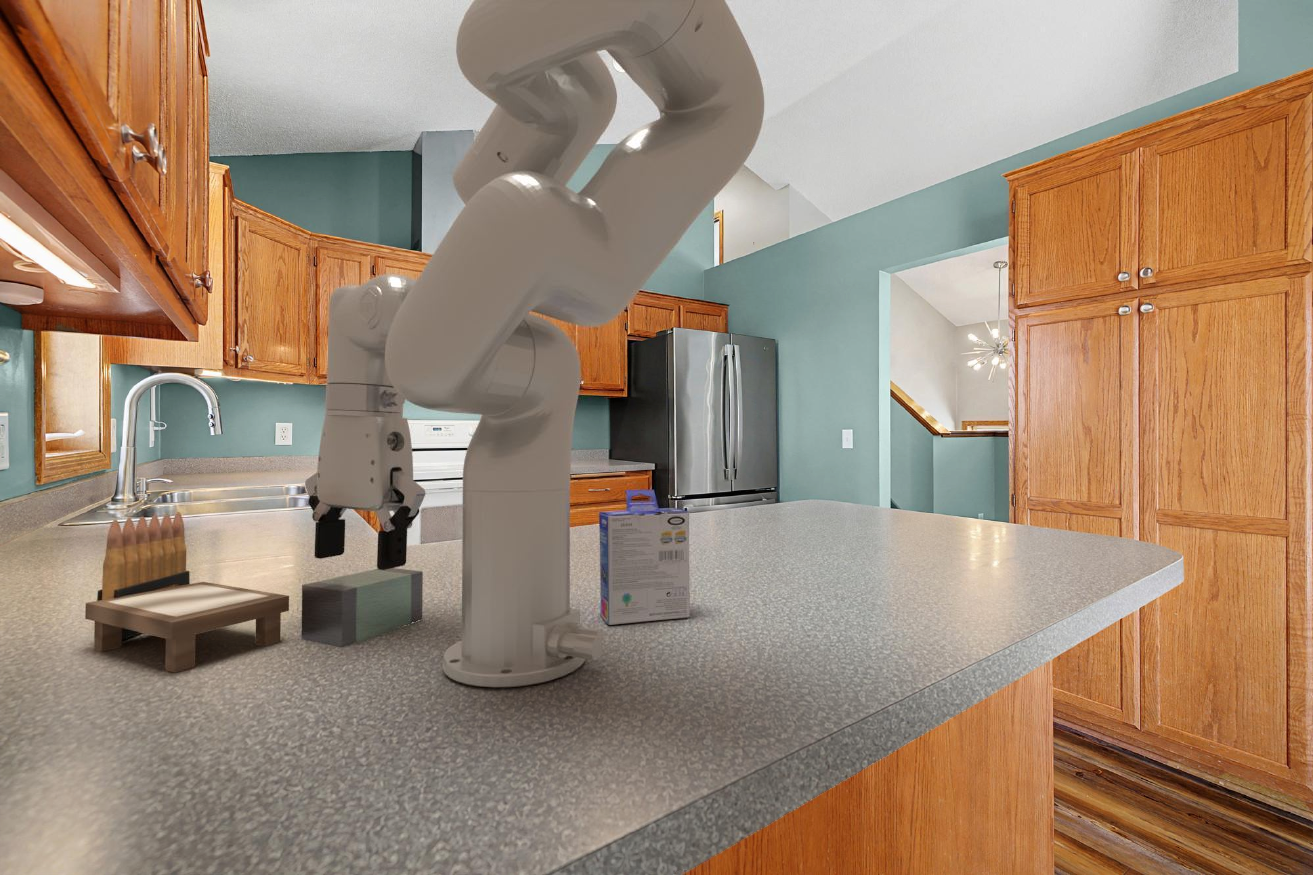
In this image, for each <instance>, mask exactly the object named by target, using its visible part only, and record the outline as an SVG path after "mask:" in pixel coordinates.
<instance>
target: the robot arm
mask: <svg viewBox="0 0 1313 875" xmlns="http://www.w3.org/2000/svg"><path fill="white" fill-rule="evenodd" d="M455 45H456V50H455V54H456V59H457V64H458V66H459V69H460V71H461V73H462V75H463V76H464V78H465V79H466V80H467V82H468V83H469V84H471V85H472V86H473V88H475V89H476V90H477V91H479V92H480V93H481V94H483V95H484V96H486V97H487V98H488V99H490V100H491V101H493V102H494V103H495V104H496V105H495V107H494V108H493V110H492V111H491V113H490V115H489V117H488V118H487V120H486V121H485V123H484V125H483V126H482V128H481V129H480V131H479V132H478V134H477V136H476V138H474V140H473V142H472V143H471V145H470V146H469V147H468V150H467V151H466V153H465V154H464V156H463V157H462V159H460V162H459V163H458V165H456V168H455V169H454V172H453V176H452V181H453V187H454V188H455V191H456V193H457V195H458V196H459V198H460V199H461V201H462V202H463V204H464V207H463V208H462V210H461V211H460V212H459V213H458V216H457V217H456V218H455V219H454V222H453V223H452V224H451V226H450V227H449V229H448V231H447V232H446V234H445V236H444V237H443V239H442V240H441V241H440V243H439V244H438V246H437V248H436V249H435V251H434V253H432V255H431V257H430V258H429V260H428V262H427V263H426V265H425V267H423V270H422V272H421V273H420V275H419V276H418V277H417V279H415V278H412V277H410V276H405V275H402V274H397V273H384V274H381V275H377V276H375V277H373V278H371V279H370V280H367V281H366V282H364V283H362V284H361V285H359V284H357V285H356V284H355V285H354V284H352V285H343V286H339V287H337V288H335V289H334V290H333V292H332V293H331V295H330V296H329V306H328V334H327V335H328V336H327V361H326V362H327V365H326V385H325V387H326V389H325V409H324V410H325V412H324V414H325V415H324V416H325V417H324V421H323V426H322V431H321V435H320V441H319V450H318V458H317V468H316V469H317V470H316V473H314V474H313V475H312V476H310V477H308V478H307V479H306V480H305V483H304V485H305V488H306V492H307V495H308V505H309V506H310V509H311V510H312V514H311V519H312V520H313V522H315V527H314V528H315V529H314V530H315V532H314V558H316V559H319V560H320V559H321V560H322V559H327V558H331V557H338V556H342V555H344V553H345V542H346V519H343V518H342V516H343V514H344V513H345V512H346V510H347V509H348V510H357V511H365V512H366V511H367V512H374V513H375V515H376V517H377V519H378V521H379V523H380V524H381V527H382V529H383V530H379V531H378V533H377V551H376V552H377V553H376V554H377V555H376V556H377V557H376V558H377V559H376V567H377V568H376V569H380V570H386V569H391V568H399V567H404V566H405V565H406V563H407V551H408V550H407V548H408V546H407V545H408V541H407V540H408V529H411V528H412V527H413V522H414V520H415V519H416V518H417V517H418V515H419V513H420V508H421V506H422V504H423V501H424V498H425V496H426V489H425V488H423V487H422V486H421V485H420V484H418V483H417V482H416V481H415V480H414V464H413V463H414V461H413V458H414V457H413V447H412V446H413V445H412V438H411V431H410V430H411V429H410V426H409V421H408V418H407V417H406V418H405V417H404V404H405V402H406V401H408V402H409V403H411V404H413V405H415V406H418V407H419V408H423V409H427V410H432V411H437V412H446V413H454V414H468V415H469V414H470V415H480V419H479V422H478V424H477V426H476V428H475V430H474V432H473V434H472V437H471V439H470V441H469V444H468V446H467V450H466V452H465V457H464V461H463V467H462V468H463V470H462V505H461V506H462V507H461V508H462V512H461V513H462V514H461V515H462V518H461V519H462V522H461V523H462V529H461V531H462V533H461V534H462V535H461V537H462V538H461V539H462V540H461V542H462V543H461V544H462V545H461V547H462V548H461V569H462V570H461V640H459V641H457V642H456V643H454V644H452V645H451V646H450V647H448V648H447V649H446V650H445V651H444V653H443V656H442V667H441V668H442V670H443V673H444V675H446V676H447V677H448V678H449V679H451V680H453V681H455V682H457V683H462V684H465V685H469V686H473V687H474V686H475V687H480V688H481V687H484V688H512V687H513V688H514V687H523V686H532V685H535V684H536V685H537V684H541V683H546V682H549V681H553V680H555V679H558V678H559V679H560V678H562V677H564V676H566V675H568V674H570V673H573V672H574V671H576V670H578V669H579V668H580V667H581V666H582V665H583V664H584V663H585V661H586V660H591V661H597V660H599V659H600V658H601V656H602V654H603V651H604V641H605V631H604V629H602V628H595V627H583V625H582V623H581V609H579V608H573V607H572V608H571V604H570V603H571V595H570V594H571V588H570V587H571V585H570V584H571V573H570V572H571V560H570V559H571V549H570V548H571V519H570V518H571V506H570V505H571V462H572V457H571V456H572V453H571V452H572V440H573V439H572V438H573V437H572V436H573V429H574V422H575V415H576V414H575V413H576V409H577V404H578V399H579V392H580V388H581V387H580V386H581V381H582V380H581V379H582V372H581V371H582V370H581V369H582V368H581V366H582V365H581V360H580V355H579V353H578V349H577V348H576V346H575V344H574V342H573V341H572V339H571V338H570V336H569V335H568V334H567V333H566V332H565V331H564V330H563V329H562V328H560V327H559V326H558V325H556V324H554V323H553V322H551V321H550V320H547V319H545V318H544V317H541V316H538V315H536V314H539V315H542V316H545V317H548V318H552V319H554V320H557V321H560V322H564V323H568V324H572V325H575V326H580V327H586V328H595V327H596V328H597V327H601V326H605V325H608V323H610V322H612V321H613V320H614V319H616V318H617V317H618V316H620V315H621V313H622V312H624V310H625V309H626V308H627V306H629V304H630V303H631V302H632V301H633V299H634V298H635V296H636V295H637V294H638V293H639V292H640V291H641V289H642V288H643V287H644V285H646V283H647V282H648V281H649V279H650V278H651V277H652V276H653V275H654V273H655V272H656V270H657V269H658V268H659V267H660V266H661V264H662V263H663V261H664V260H666V258H667V257H668V255H669V254H670V253H671V251H672V250H674V248H675V247H676V245H677V244H678V243H679V241H680V240H681V239H682V237H683V236H684V235H685V233H686V232H687V230H688V229H689V228H690V227H691V225H692V224H693V223H694V221H696V219H698V216H699V215H700V214H701V213H702V212H704V210H705V208H707V207H708V205H709V204H710V203H711V202H712V201H713V200H714V198H716V196H717V195H719V193H720V192H721V191H722V190H723V189H724V188H725V187H726V186H727V185H728V184H729V182H730V181H731V180H732V179H733V178H734V176H735V175H736V174H737V173H738V172H739V170H740V169H741V168H742V166H743V165H744V164H745V163H746V161H747V159H748V158H749V157H750V155H751V153H752V151H753V149H754V148H755V145H756V144H757V141H758V138H759V136H760V133H761V129H762V126H763V121H764V115H765V92H764V88H763V84H762V78H761V74H760V72H759V68H758V65H757V62H756V60H755V58H754V56H753V55H754V54H753V52H752V51H751V48H750V46H749V43H748V42H747V40H746V38H745V36H744V34H743V31H742V29H741V28H740V26H739V24H738V22H737V20H736V18H735V17H734V15H733V12H732V11H731V9H730V6H729V5H728V4H727V1H726V0H473V1H472V2H471V4H470V6H469V7H468V9H467V10H466V12H465V13H464V16H463V18H462V21H461V22H460V25H459V28H458V31H457V36H456V44H455ZM603 50H604V51H606V52H607V53H608V54H609V55H610V56H611V58H612V59H613V60H614V61H615V62H616V63H617V64H618V65H619V67H620V68H621V69H622V70H623V71H624V72H625V73H626V74H627V75H628V77H629V78H631V80H632V82H634V83H635V84H636V85H637V86H638V88H640V89H641V90H642V91H643V93H644V94H646V96H647V97H648V98H649V99H650V100H651V102H653V104H654V105H655V107H657V110H658V113H659V118H658V119H656V120H653V121H651V122H649V123H646V124H644V125H642V126H641V127H639V128H637V129H635V130H634V131H633V132H631V133H629V134H628V135H626V137H625V138H623V139H622V140H620V141H619V142H618V143H617V144H616V145H615V147H613V149H611V150H610V152H609V153H608V154H607V156H606V158H604V160H603V162H602V164H601V165H600V166H599V168H598V170H597V171H596V172H595V173H594V174H593V175H592V177H591V179H589V181H588V182H587V183H586V184H585V185H584V187H583V188H581V189H580V191H579V192H578V193H577V192H575V191H574V190H572V189H570V187H568V186H567V185H568V183H569V182H570V180H571V179H572V178H573V176H574V175H575V173H576V172H577V171H578V169H579V168H580V167H581V165H582V164H583V162H584V161H585V159H586V158H587V156H588V155H589V154H590V152H591V151H592V150H593V149H594V147H595V145H596V144H597V143H598V142H599V140H600V138H601V137H602V135H603V134H604V133H605V132H606V130H607V129H608V127H609V125H610V123H611V121H612V119H613V118H614V114H615V112H616V109H617V103H618V101H617V100H618V93H617V92H618V91H617V86H616V83H615V81H614V78H613V76H612V74H611V72H610V70H609V67H608V65H606V63H605V62H604V60H603V59H602V57H601V56H600V54H599V53H598V52H601V51H603ZM530 312H532V313H536V314H532V313H530ZM390 512H393V515H392V514H391V513H390Z"/></svg>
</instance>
